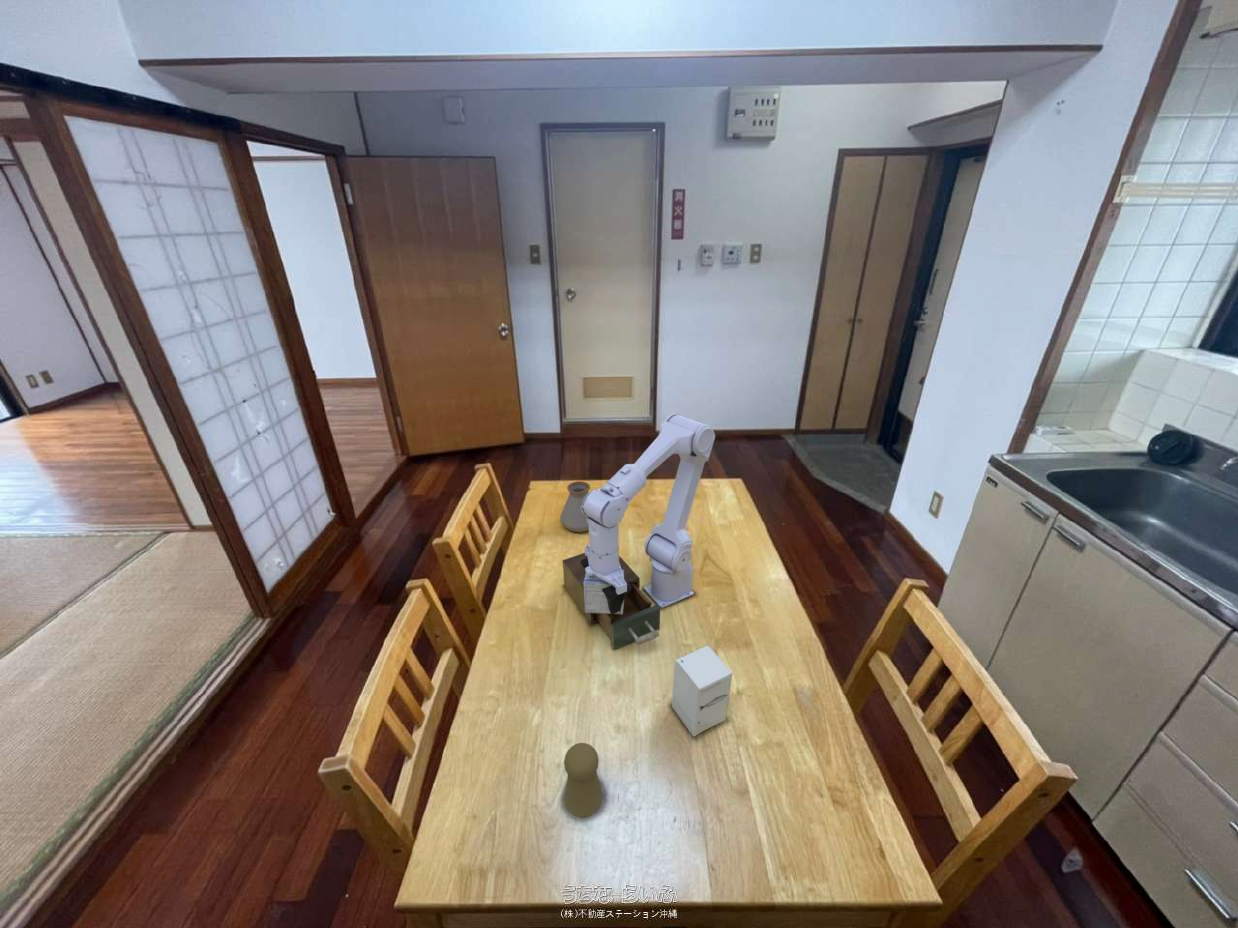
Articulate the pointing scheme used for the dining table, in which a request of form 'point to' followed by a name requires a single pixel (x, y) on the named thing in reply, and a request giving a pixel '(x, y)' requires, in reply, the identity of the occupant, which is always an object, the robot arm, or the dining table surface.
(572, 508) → the coffee pot
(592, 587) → the medicine box
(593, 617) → the cabinet
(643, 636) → the drawer
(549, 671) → the dining table surface
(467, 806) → the dining table surface
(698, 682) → the white packaging box
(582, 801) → the brown pawn figure
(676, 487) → the robot arm
